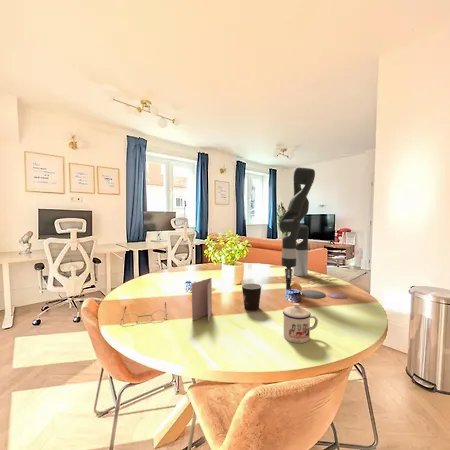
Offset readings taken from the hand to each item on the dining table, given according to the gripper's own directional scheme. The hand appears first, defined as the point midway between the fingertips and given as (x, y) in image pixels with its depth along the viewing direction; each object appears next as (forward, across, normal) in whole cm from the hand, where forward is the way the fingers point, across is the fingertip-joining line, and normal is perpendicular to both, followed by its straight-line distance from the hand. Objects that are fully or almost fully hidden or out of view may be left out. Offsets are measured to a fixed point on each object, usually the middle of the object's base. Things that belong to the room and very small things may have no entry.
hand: (288, 289), depth 136 cm
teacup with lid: (+3, -48, -4) cm, 48 cm away
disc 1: (+2, 0, -12) cm, 12 cm away
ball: (-1, 0, -4) cm, 4 cm away
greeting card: (+3, -40, +32) cm, 51 cm away
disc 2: (+2, +1, -24) cm, 24 cm away
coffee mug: (+3, -24, +16) cm, 29 cm away
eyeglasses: (+4, -40, +60) cm, 72 cm away
